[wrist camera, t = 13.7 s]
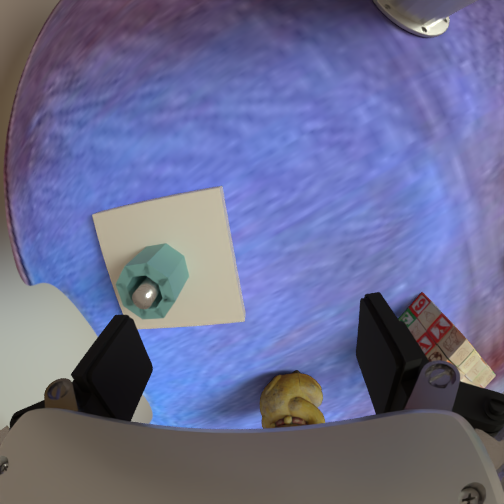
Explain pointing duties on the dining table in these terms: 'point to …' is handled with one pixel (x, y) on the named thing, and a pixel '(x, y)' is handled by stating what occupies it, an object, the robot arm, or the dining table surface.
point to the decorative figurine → (291, 401)
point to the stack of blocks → (445, 341)
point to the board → (185, 242)
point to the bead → (154, 279)
